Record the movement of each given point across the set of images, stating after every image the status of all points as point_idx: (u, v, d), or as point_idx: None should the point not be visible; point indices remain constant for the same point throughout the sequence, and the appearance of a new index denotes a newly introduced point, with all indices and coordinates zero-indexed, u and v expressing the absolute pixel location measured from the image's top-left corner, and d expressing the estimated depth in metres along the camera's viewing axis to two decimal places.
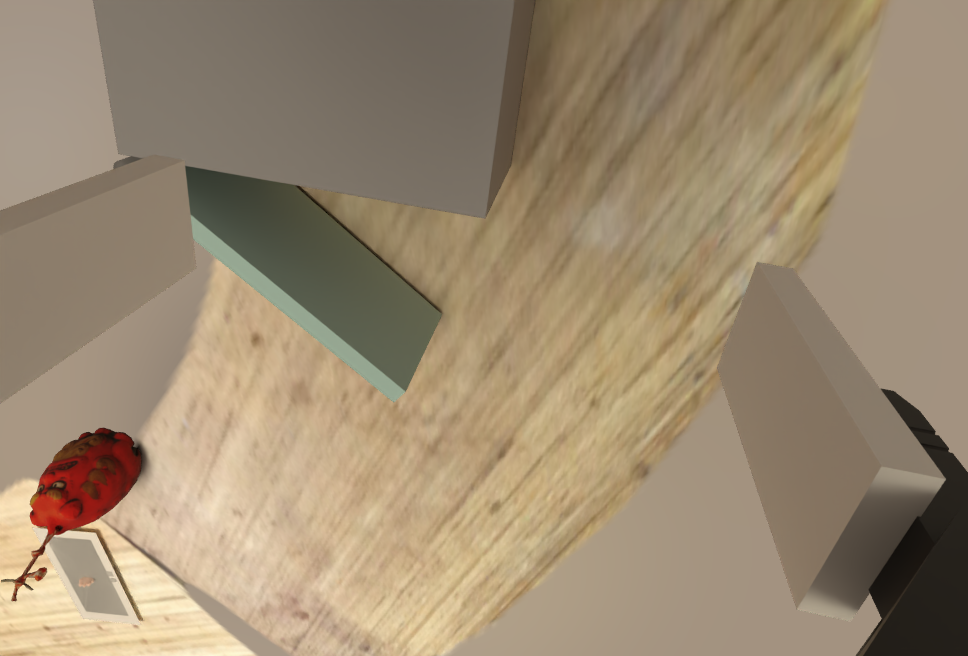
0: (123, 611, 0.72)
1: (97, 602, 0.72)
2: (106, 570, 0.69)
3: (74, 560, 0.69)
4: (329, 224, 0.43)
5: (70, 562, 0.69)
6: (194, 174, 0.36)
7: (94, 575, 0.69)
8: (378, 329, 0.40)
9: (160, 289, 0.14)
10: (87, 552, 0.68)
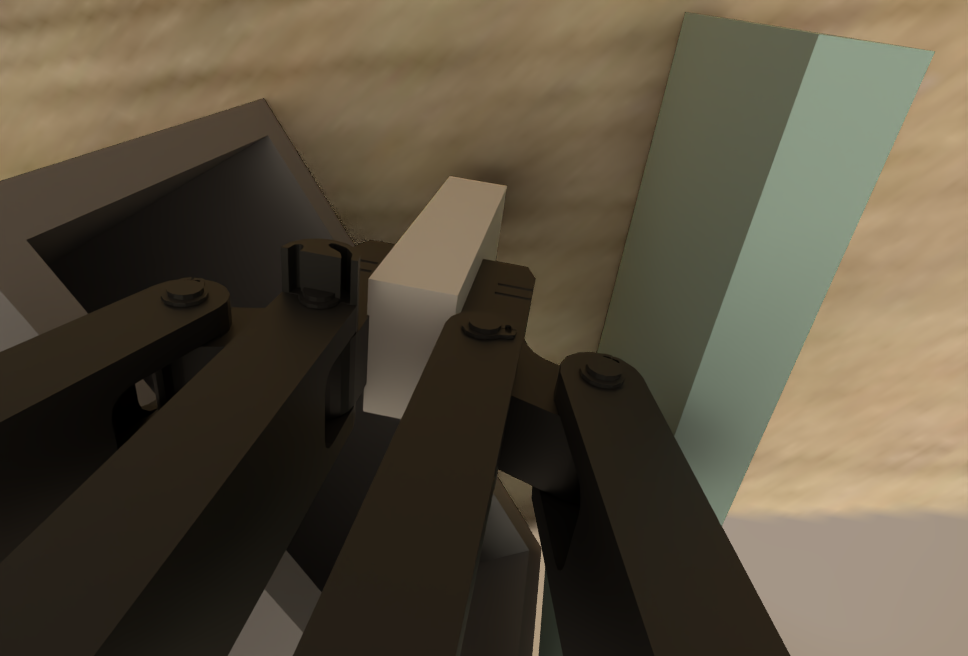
0: None
1: None
2: None
3: None
4: None
5: None
6: None
7: None
8: (684, 234, 0.11)
9: None
10: None
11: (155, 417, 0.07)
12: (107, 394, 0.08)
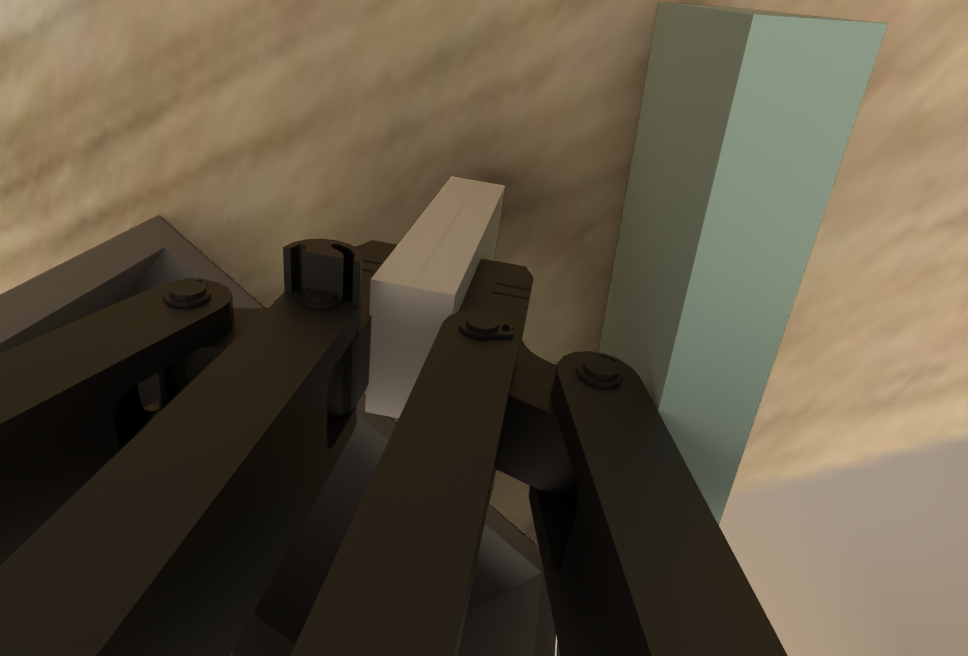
0: None
1: None
2: None
3: None
4: None
5: None
6: None
7: None
8: (655, 238, 0.10)
9: None
10: None
11: (158, 417, 0.07)
12: (110, 395, 0.08)
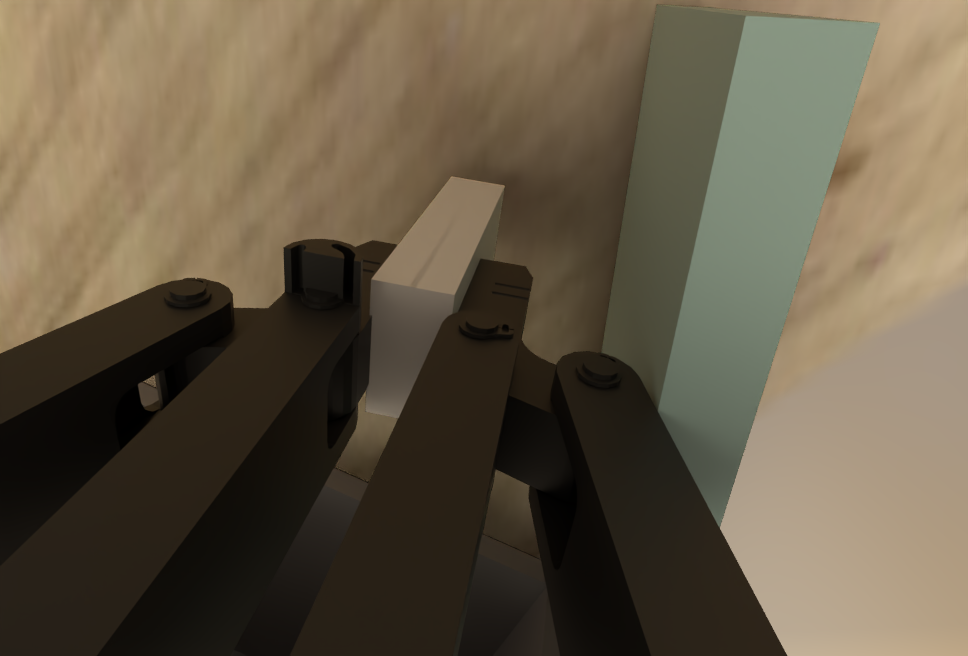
0: None
1: None
2: None
3: None
4: None
5: None
6: None
7: None
8: (654, 239, 0.10)
9: None
10: None
11: (158, 417, 0.07)
12: (110, 395, 0.08)
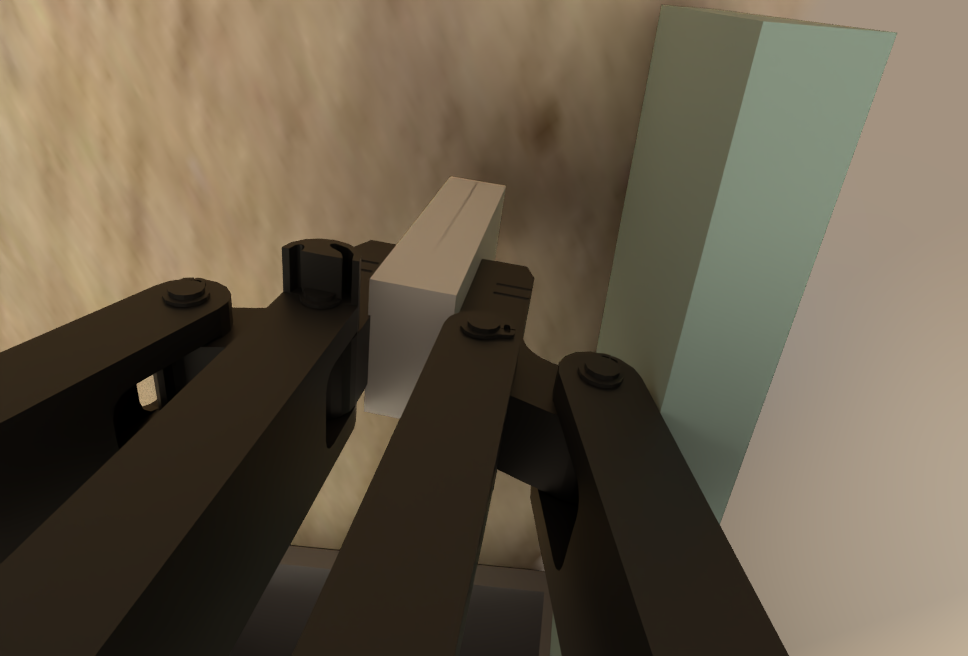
0: None
1: None
2: None
3: None
4: None
5: None
6: None
7: None
8: (657, 242, 0.10)
9: None
10: None
11: (156, 417, 0.07)
12: (109, 395, 0.08)
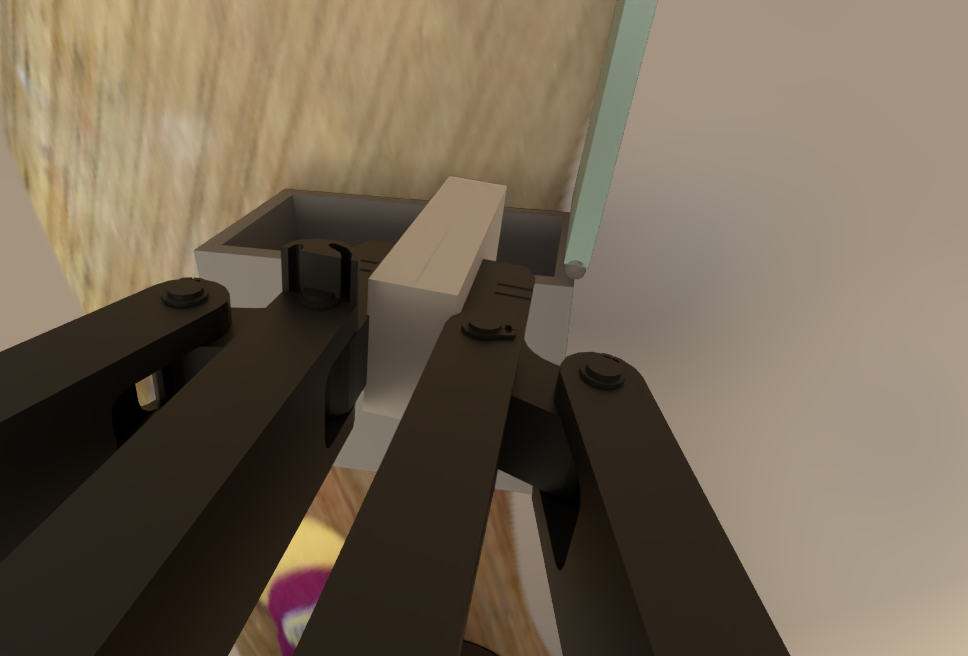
0: None
1: None
2: None
3: None
4: (609, 38, 0.33)
5: None
6: (575, 203, 0.31)
7: None
8: None
9: None
10: None
11: (155, 417, 0.07)
12: (108, 394, 0.08)
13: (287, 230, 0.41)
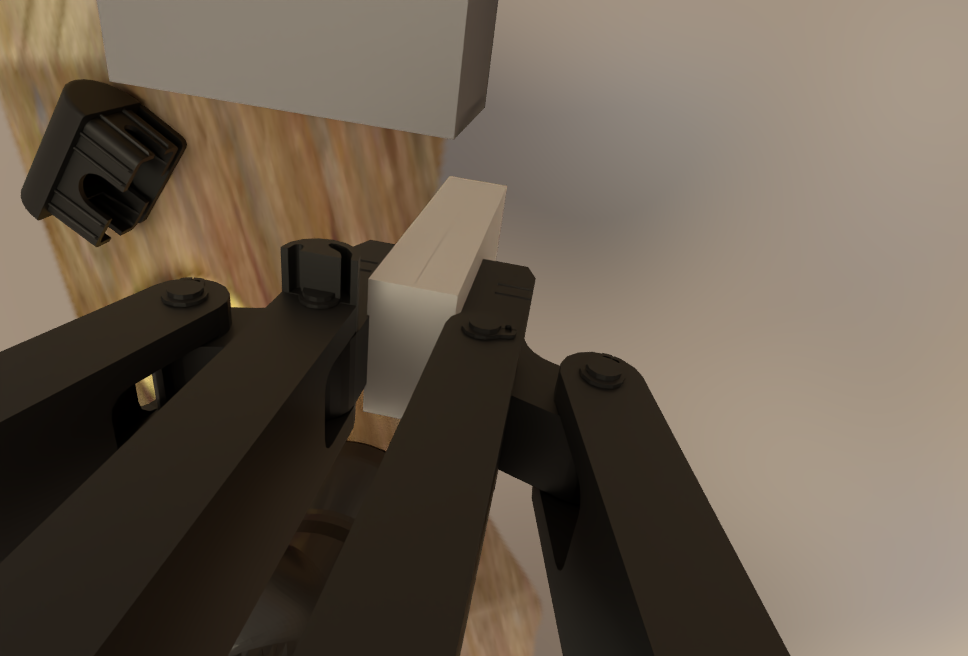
0: None
1: None
2: None
3: None
4: None
5: None
6: None
7: None
8: None
9: None
10: None
11: (155, 417, 0.07)
12: (107, 394, 0.08)
13: None
